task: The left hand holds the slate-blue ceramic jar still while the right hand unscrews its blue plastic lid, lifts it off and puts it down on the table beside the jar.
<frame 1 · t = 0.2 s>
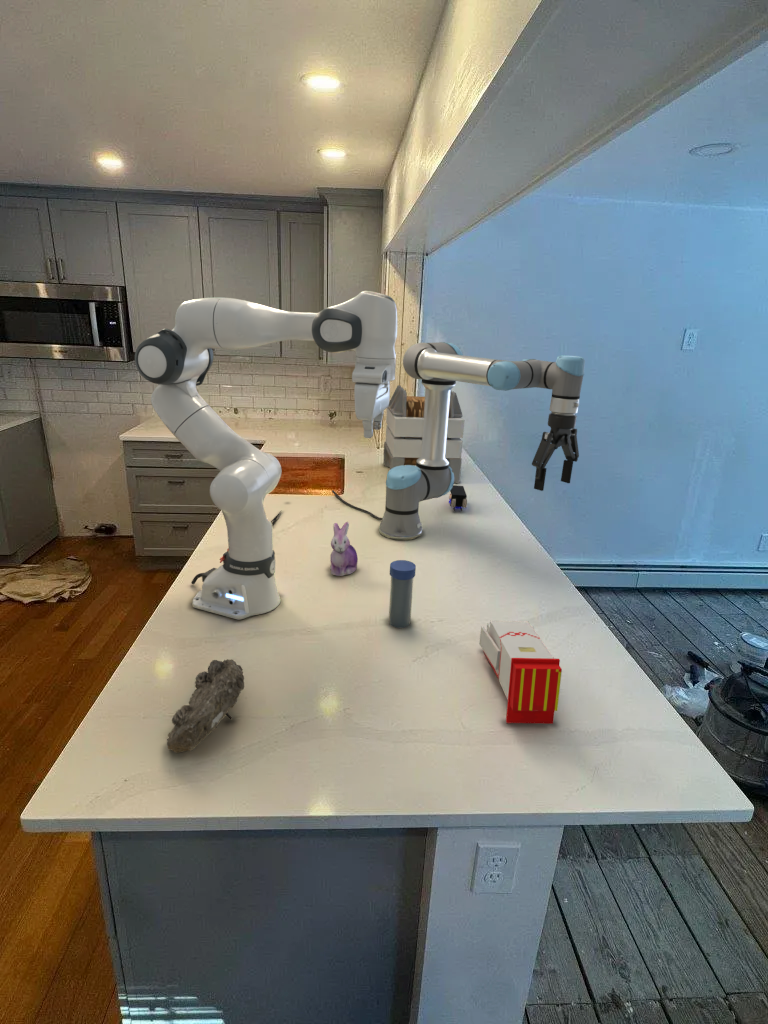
left hand: (372, 433, 129), 48 cm above the counter, tool pointing down, fingers open, 8 cm apart
right hand: (552, 485, 166), 28 cm above the counter, tool pointing down, fingers open, 13 cm apart
fossil: (212, 717, 108), on the counter
figurine character: (456, 507, 229), on the counter
jar: (399, 622, 144), on the counter
figurine: (343, 570, 170), on the counter
lid: (402, 566, 138), point 16 cm above the counter, screwed on, not yet turned
feather: (279, 514, 213), on the counter
toy: (512, 681, 123), on the counter
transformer: (419, 473, 275), on the counter
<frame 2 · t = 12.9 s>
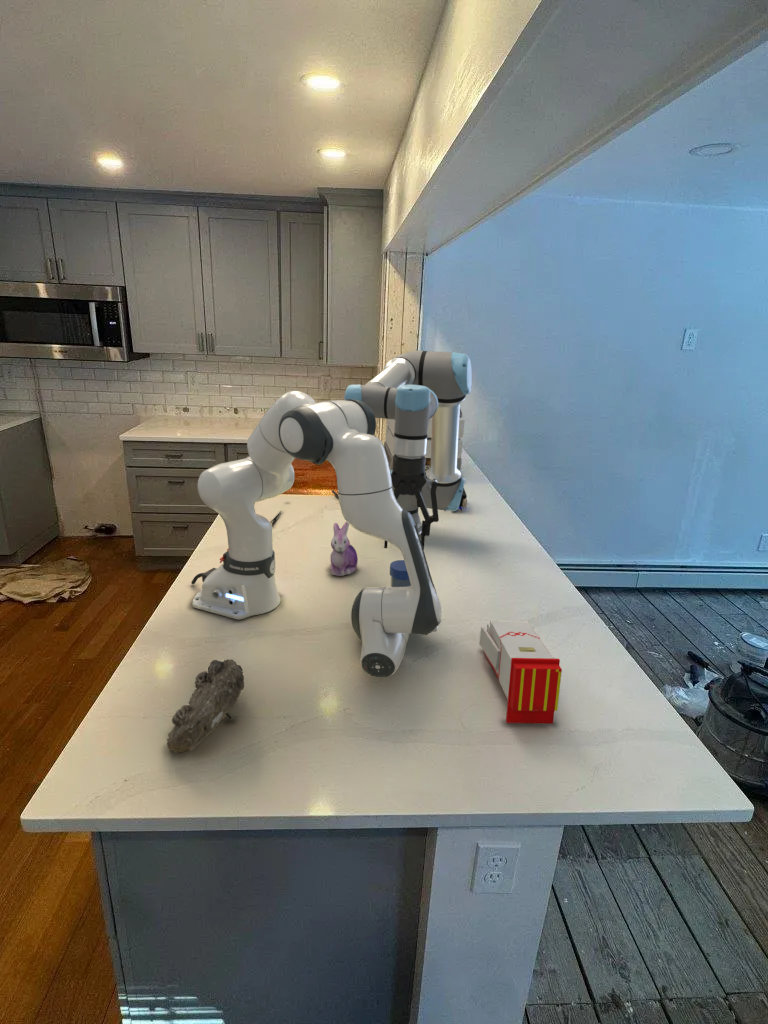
left hand: (401, 598, 142), 6 cm above the counter, tool horizontal, fingers closed on jar, 5 cm apart
right hand: (404, 546, 137), 21 cm above the counter, tool pointing down, fingers open, 8 cm apart
jar: (399, 622, 144), on the counter, touching left hand
everything else where it was.
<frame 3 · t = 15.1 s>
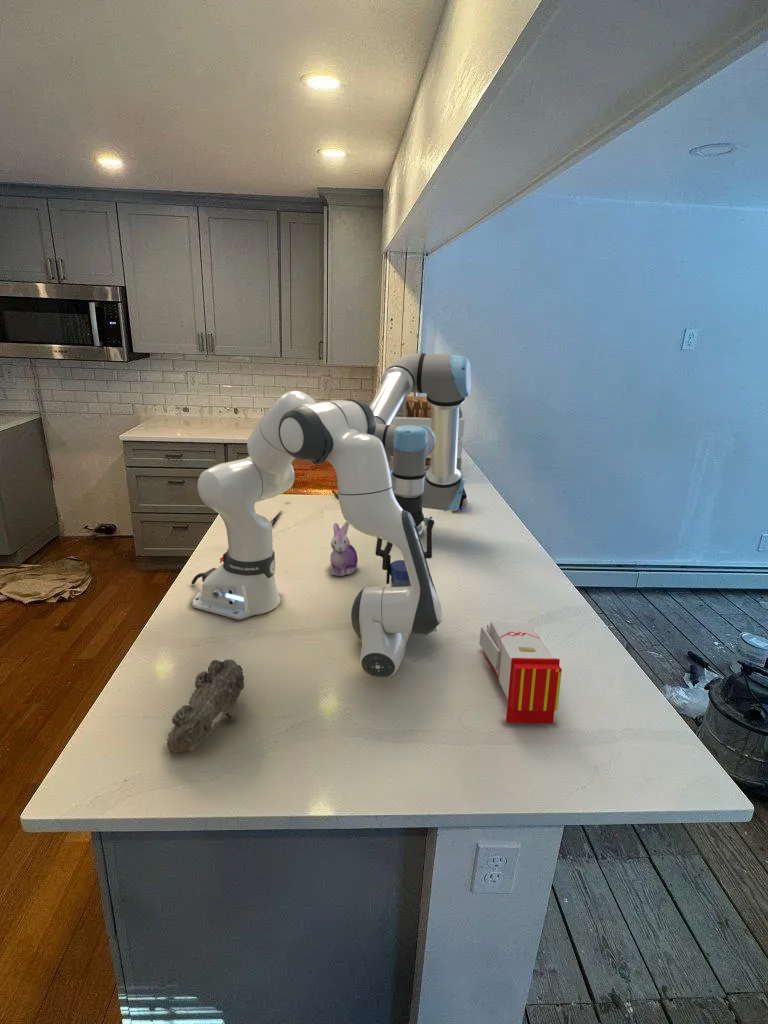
left hand: (401, 598, 142), 6 cm above the counter, tool horizontal, fingers closed on jar, 5 cm apart
right hand: (402, 581, 140), 11 cm above the counter, tool pointing down, fingers closed on lid, 6 cm apart
jar: (399, 622, 144), on the counter, touching left hand
lid: (402, 566, 138), point 16 cm above the counter, screwed on, not yet turned, touching right hand
everything else where it was.
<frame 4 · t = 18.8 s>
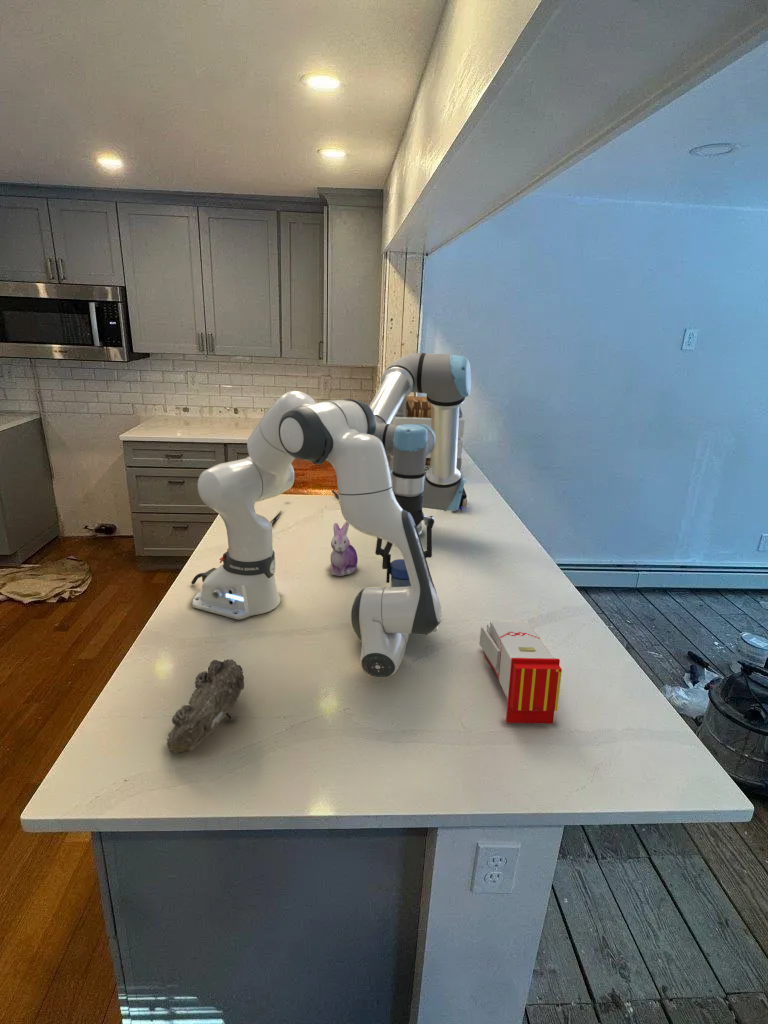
left hand: (401, 598, 142), 6 cm above the counter, tool horizontal, fingers closed on jar, 5 cm apart
right hand: (402, 581, 140), 12 cm above the counter, tool pointing down, fingers closed on lid, 6 cm apart
jar: (399, 622, 144), on the counter, touching left hand
lid: (402, 565, 138), point 16 cm above the counter, turned 143° so far, risen 0.2 cm, still on its thread, touching right hand
everything else where it was.
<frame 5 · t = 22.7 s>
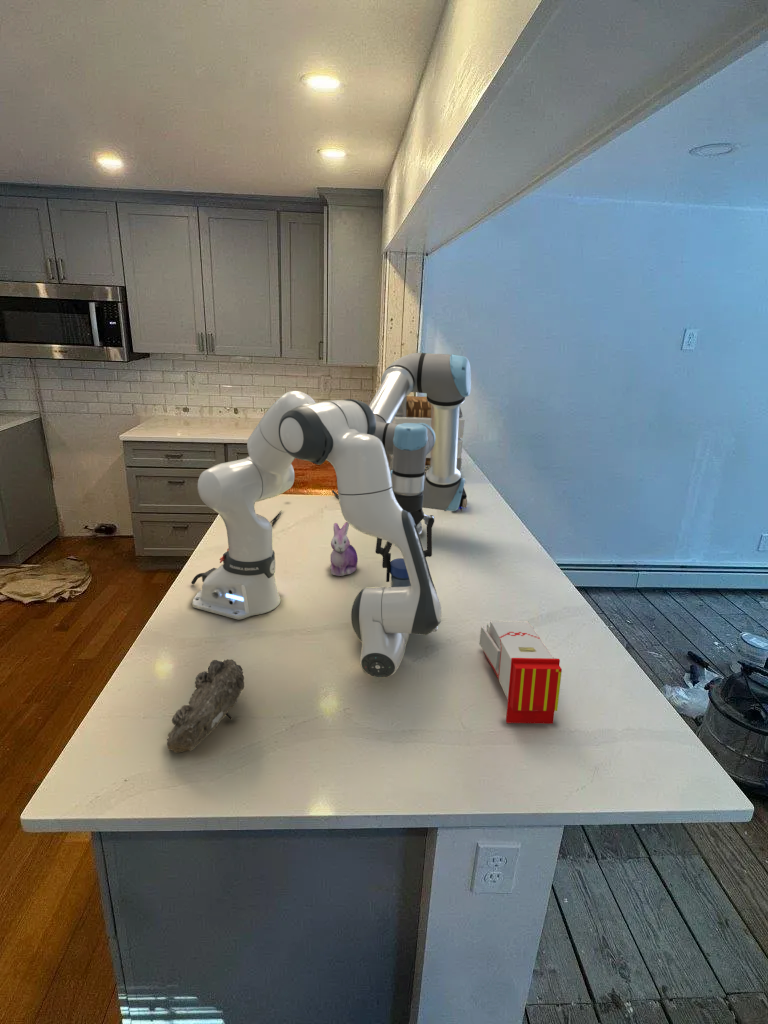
left hand: (401, 598, 142), 6 cm above the counter, tool horizontal, fingers closed on jar, 5 cm apart
right hand: (402, 580, 140), 12 cm above the counter, tool pointing down, fingers closed on lid, 6 cm apart
jar: (399, 622, 144), on the counter, touching left hand
lid: (402, 564, 138), point 16 cm above the counter, turned 286° so far, risen 0.5 cm, still on its thread, touching right hand
everything else where it was.
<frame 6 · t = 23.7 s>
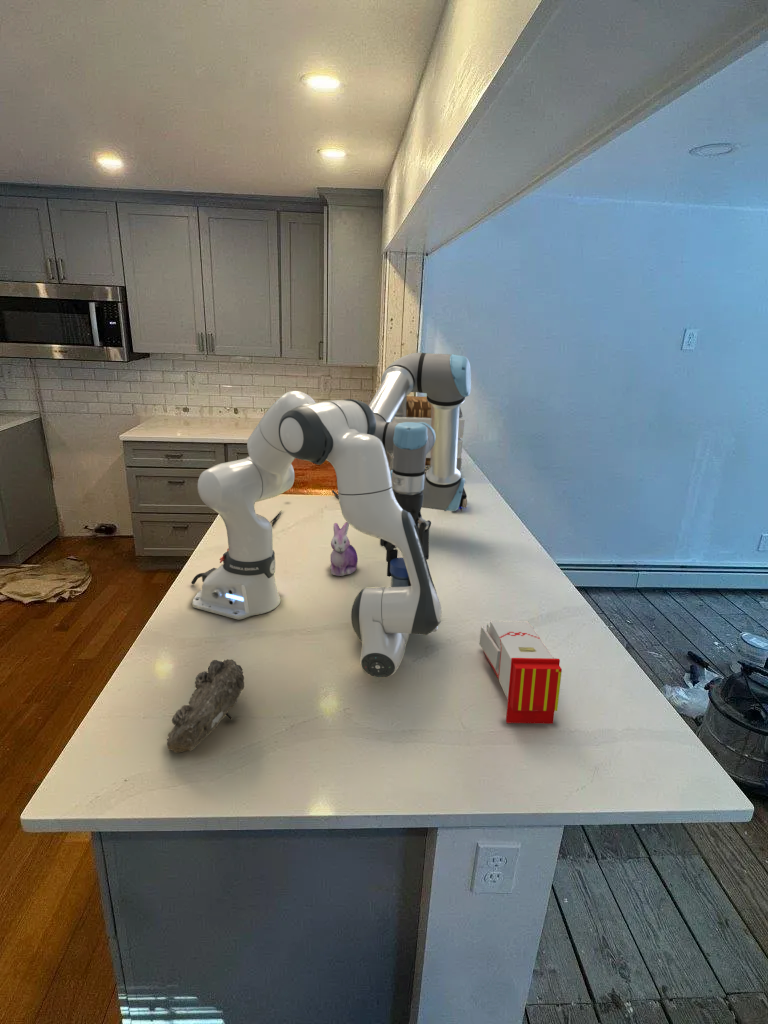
left hand: (401, 598, 142), 6 cm above the counter, tool horizontal, fingers closed on jar, 5 cm apart
right hand: (402, 579, 140), 12 cm above the counter, tool pointing down, fingers closed on lid, 6 cm apart
jar: (399, 622, 144), on the counter, touching left hand
lid: (403, 564, 138), point 16 cm above the counter, off its thread, touching right hand
everything else where it was.
when the right hand's fingers open (0 cm above the counter, at t = 30.8 s): lid drops 2 cm, point 2 cm above the counter.
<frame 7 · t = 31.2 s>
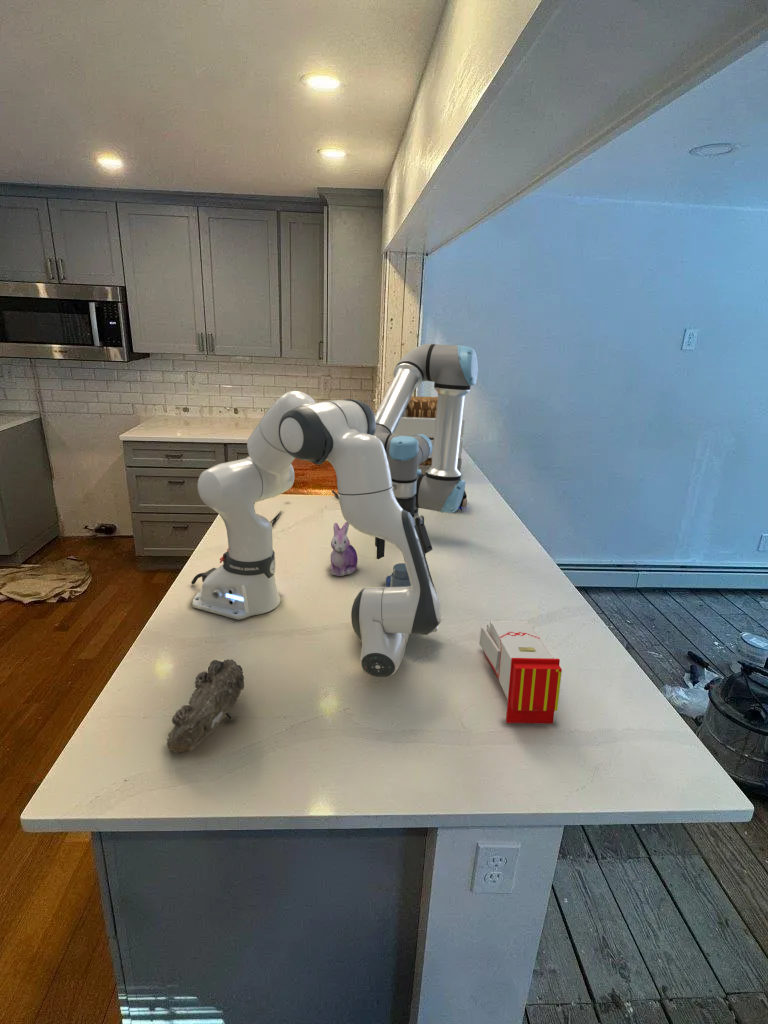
left hand: (401, 598, 142), 6 cm above the counter, tool horizontal, fingers closed on jar, 5 cm apart
right hand: (398, 565, 161), 6 cm above the counter, tool pointing down, fingers open, 13 cm apart
jar: (399, 622, 144), on the counter, touching left hand
lid: (396, 580, 161), point 2 cm above the counter, off its thread
everything else where it was.
when the left hand's fingers open (6 cm above the counter, at t = 31.6 s): jar stays where it is, on the counter.
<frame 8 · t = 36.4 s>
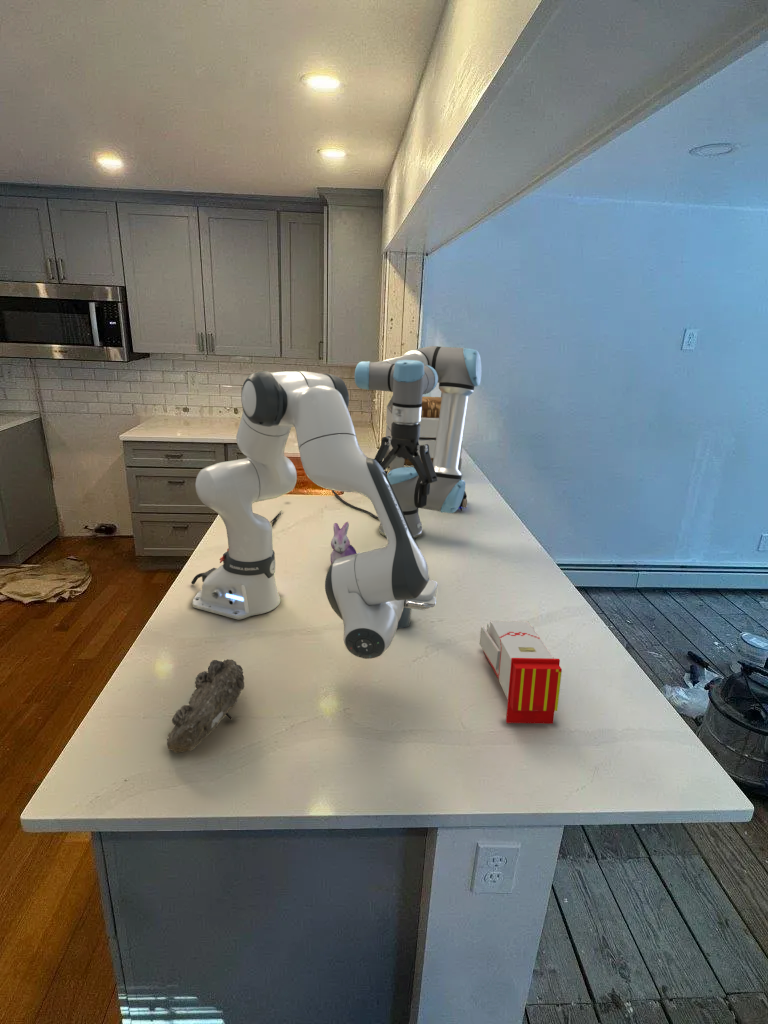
left hand: (394, 572, 125), 20 cm above the counter, tool horizontal, fingers open, 8 cm apart
right hand: (401, 500, 153), 26 cm above the counter, tool pointing down, fingers open, 13 cm apart
jar: (399, 622, 144), on the counter
everything else where it was.
at the end: lid came off its thread; lid point 2.1 cm above the counter; the left hand is holding nothing; the right hand is holding nothing; jar tilted 0°; jar moved 0.0 cm from its start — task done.
